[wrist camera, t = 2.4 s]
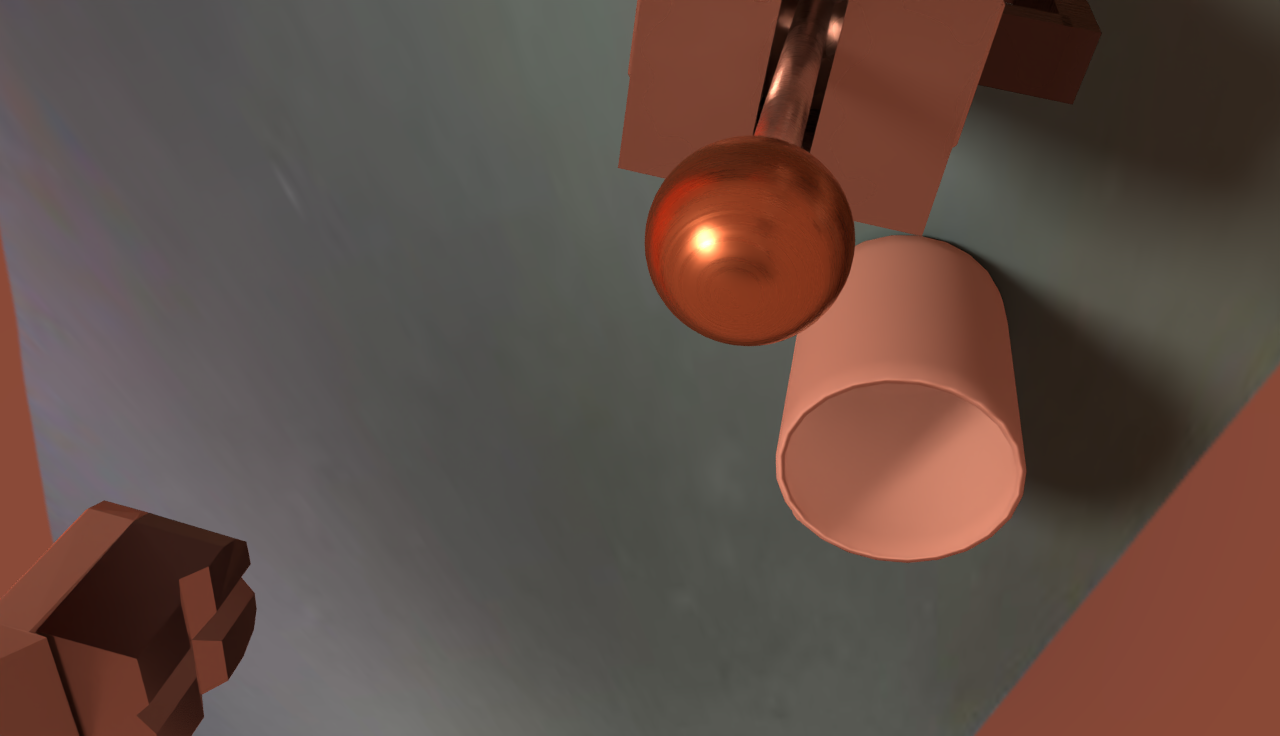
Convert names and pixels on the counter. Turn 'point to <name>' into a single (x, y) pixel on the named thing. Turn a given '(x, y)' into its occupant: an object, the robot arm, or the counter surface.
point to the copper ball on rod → (759, 206)
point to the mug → (904, 408)
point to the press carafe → (849, 85)
